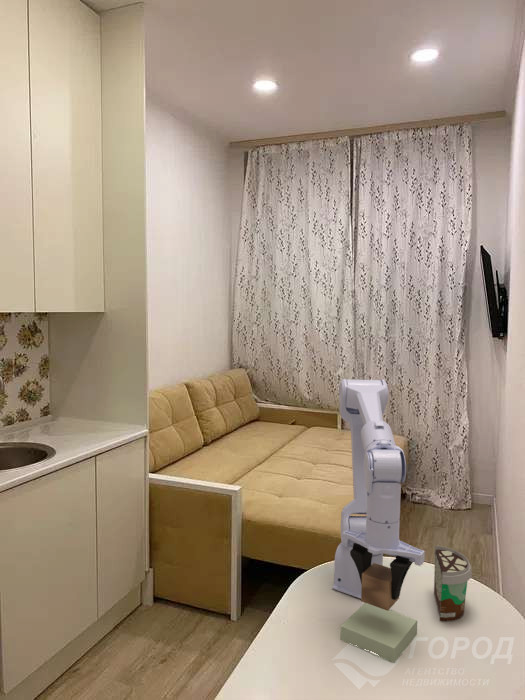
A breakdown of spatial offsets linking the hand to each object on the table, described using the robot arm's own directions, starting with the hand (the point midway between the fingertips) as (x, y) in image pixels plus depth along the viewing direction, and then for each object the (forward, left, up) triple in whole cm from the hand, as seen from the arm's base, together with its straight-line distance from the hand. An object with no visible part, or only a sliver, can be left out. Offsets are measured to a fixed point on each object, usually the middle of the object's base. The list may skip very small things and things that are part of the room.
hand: (380, 591), depth 94 cm
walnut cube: (0, 0, -1) cm, 1 cm away
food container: (+8, +17, -9) cm, 21 cm away
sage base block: (0, 0, -9) cm, 9 cm away
